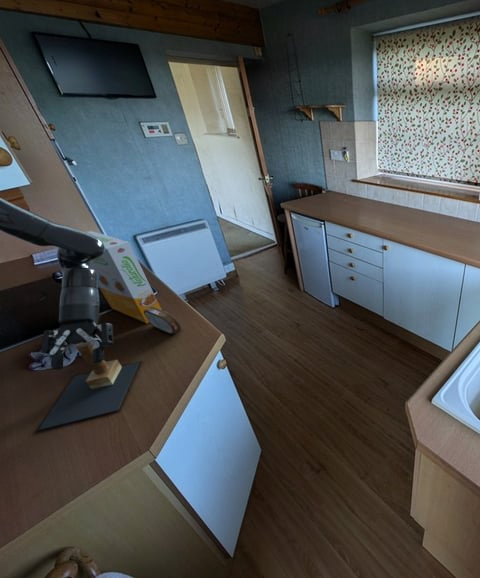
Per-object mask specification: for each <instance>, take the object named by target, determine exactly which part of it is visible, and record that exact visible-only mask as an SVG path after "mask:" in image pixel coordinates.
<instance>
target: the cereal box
mask: <svg viewBox="0 0 480 578" xmlns="http://www.w3.org/2000/svg"><path fill="white" fill-rule="evenodd" d="M86 232H87V233H89V234H91V235H93V236H95V237H97V238H98V239H99V240H101V241H102V243H103V244H104V246H105V252H104V254H103V255H102V256H100V257H98V258H96V259H93V260H91V261H90V262H89V266H90V269H93V270H95V271H96V272H97V273H98V289H99V290H100V292H101V293H102V295H103V296H104V298H105V300H106V301H107V303H108V305H109V307H110V309H111V310H112V309H113V310H114V311H117V312H120V313H122V314H123V315H126V316H129V317H131V318H133V319H135V320H138V321H140V322H142V323H145V324H149V323H150V322H149V321H148V319H147V317H146V316H145V314H144V311H145V310H146V309H148V308H150V307H151V306H153V307H155V308H158V309H160V310H162V308H161V305H160V303H159V301H158V299H157V297H156V295H155V292H154V290H153V288H152V287H151V285H150V282H149V281H148V279H147V277H146V274H145V272H144V270H143V268H142V266H141V264H140V262H139V260H138V257H137V255H136V253H135V252H134V249H133V247H132V244H131V243H130V242H129V241H127V240H123V239H120V238H117V237H113V236H110V235H108V234H107V235H106V234H104V233H100V232H96V231H93V230H89V231H86Z"/></svg>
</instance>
